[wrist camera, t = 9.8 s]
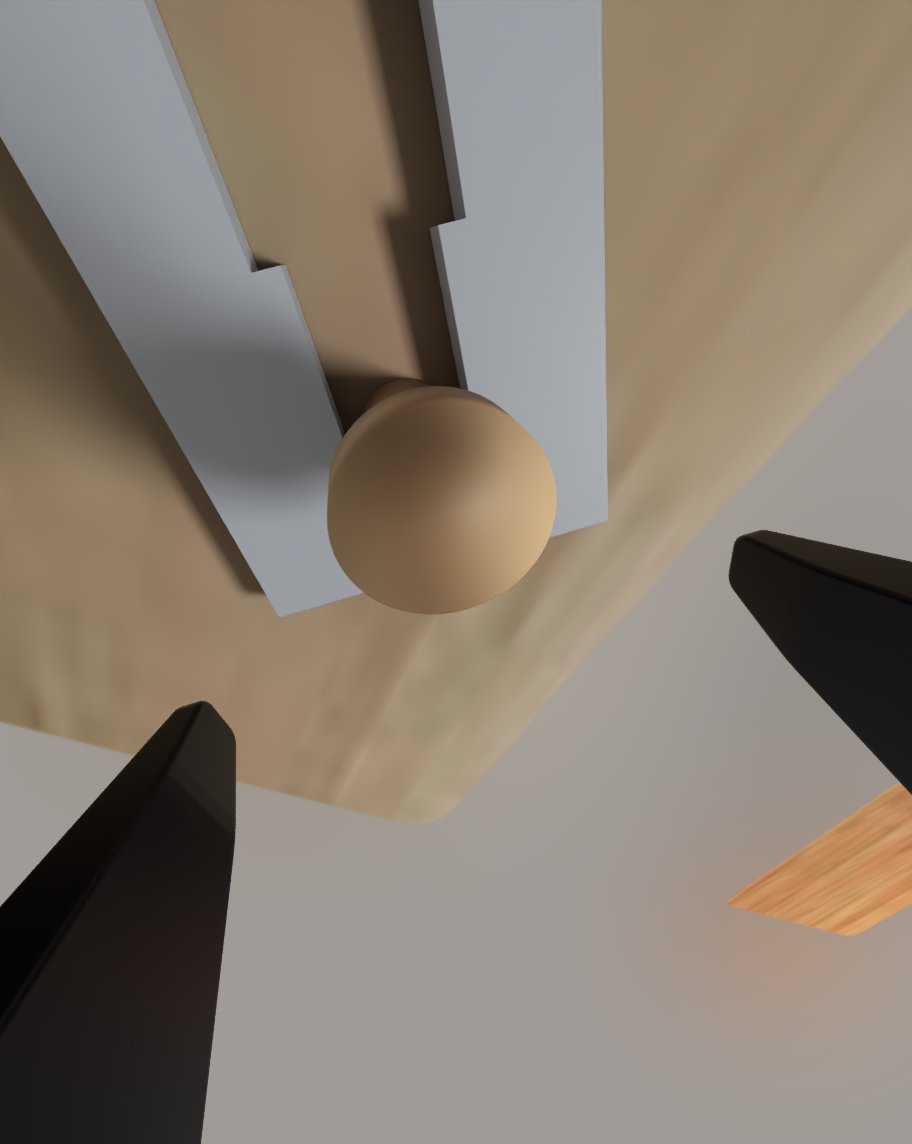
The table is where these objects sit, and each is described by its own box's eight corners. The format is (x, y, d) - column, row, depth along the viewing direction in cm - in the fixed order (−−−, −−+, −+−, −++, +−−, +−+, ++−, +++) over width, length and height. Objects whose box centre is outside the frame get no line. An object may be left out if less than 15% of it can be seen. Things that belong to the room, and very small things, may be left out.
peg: (463, 328, 16) (546, 372, 9) (489, 474, 19) (564, 579, 12) (307, 369, 15) (285, 444, 9) (359, 511, 18) (370, 638, 12)
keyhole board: (-196, -270, 8) (-297, -370, 7) (559, -407, 9) (597, -523, 8) (282, 595, 20) (278, 619, 18) (591, 504, 20) (608, 521, 19)
